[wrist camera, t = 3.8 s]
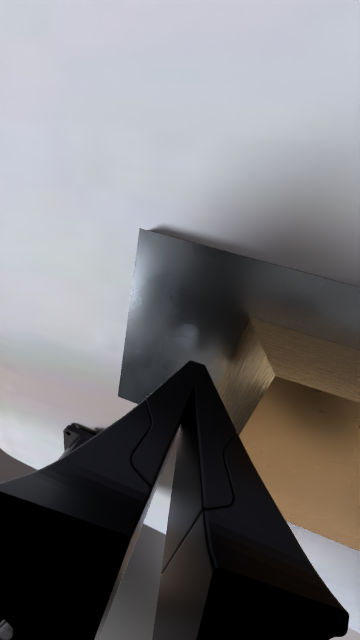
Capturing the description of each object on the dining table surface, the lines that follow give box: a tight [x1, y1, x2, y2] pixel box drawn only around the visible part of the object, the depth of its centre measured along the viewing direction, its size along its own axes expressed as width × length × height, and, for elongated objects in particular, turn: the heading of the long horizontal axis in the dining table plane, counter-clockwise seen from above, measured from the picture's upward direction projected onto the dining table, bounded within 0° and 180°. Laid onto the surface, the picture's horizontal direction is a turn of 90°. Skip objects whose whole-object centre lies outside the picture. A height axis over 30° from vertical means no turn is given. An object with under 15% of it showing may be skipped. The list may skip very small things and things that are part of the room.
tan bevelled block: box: [218, 318, 360, 551], centre depth 7 cm, size 6×7×4 cm
